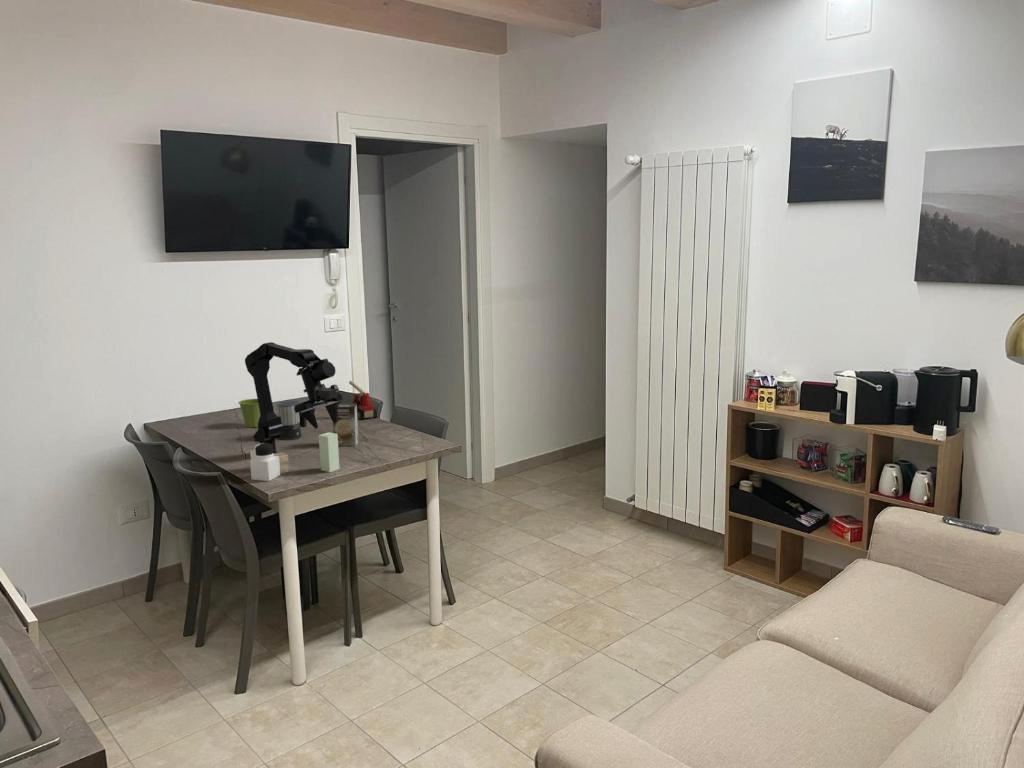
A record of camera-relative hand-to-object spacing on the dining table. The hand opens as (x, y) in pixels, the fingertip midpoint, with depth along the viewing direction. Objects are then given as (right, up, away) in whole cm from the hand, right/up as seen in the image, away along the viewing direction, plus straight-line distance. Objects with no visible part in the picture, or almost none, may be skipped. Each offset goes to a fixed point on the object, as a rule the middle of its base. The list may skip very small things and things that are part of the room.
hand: (326, 425), depth 274 cm
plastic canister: (-25, -16, +2) cm, 29 cm away
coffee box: (0, -9, +33) cm, 35 cm away
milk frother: (-29, -7, +48) cm, 56 cm away
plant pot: (-47, -4, +64) cm, 79 cm away
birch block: (-16, -16, 0) cm, 23 cm away
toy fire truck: (-3, 0, +79) cm, 79 cm away
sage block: (+1, -16, +1) cm, 16 cm away
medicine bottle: (-19, -18, -8) cm, 27 cm away
